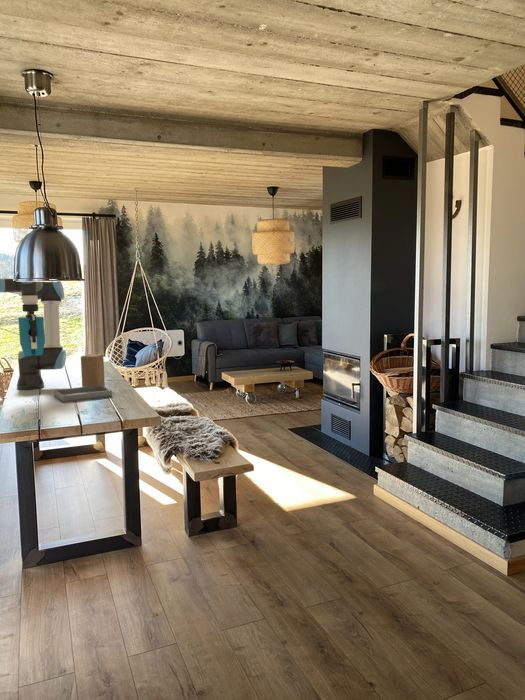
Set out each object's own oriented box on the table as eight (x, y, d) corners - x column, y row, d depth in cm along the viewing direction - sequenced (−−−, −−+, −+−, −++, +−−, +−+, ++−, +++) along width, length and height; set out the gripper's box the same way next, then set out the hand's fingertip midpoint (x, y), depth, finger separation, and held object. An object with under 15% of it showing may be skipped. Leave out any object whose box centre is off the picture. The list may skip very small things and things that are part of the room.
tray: (54, 396, 309) (53, 390, 309) (100, 390, 323) (100, 385, 323) (63, 402, 292) (63, 396, 292) (112, 396, 307) (111, 390, 306)
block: (45, 353, 298) (42, 316, 296) (45, 355, 294) (43, 317, 291) (20, 355, 293) (18, 317, 291) (21, 356, 289) (18, 318, 286)
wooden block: (97, 390, 325) (95, 356, 323) (81, 389, 327) (79, 356, 325) (105, 387, 335) (103, 354, 332) (90, 386, 337) (88, 353, 334)
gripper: (19, 303, 296) (21, 346, 298) (26, 304, 280) (29, 350, 283) (33, 303, 300) (36, 345, 303) (41, 304, 284) (44, 349, 287)
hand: (32, 347), depth 293 cm, fingers closed on block, 5 cm apart
